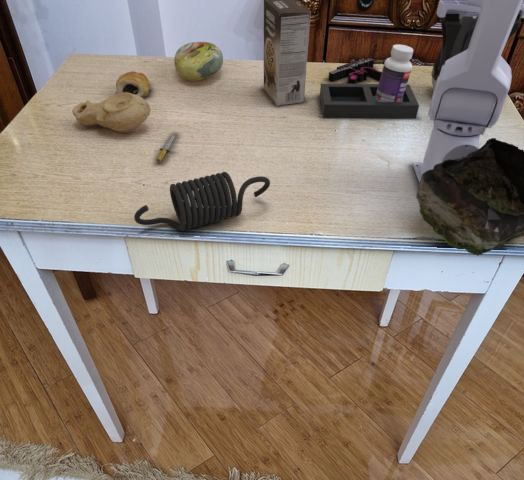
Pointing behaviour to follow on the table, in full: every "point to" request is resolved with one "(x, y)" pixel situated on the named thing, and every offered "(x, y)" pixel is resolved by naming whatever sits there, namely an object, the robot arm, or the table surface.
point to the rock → (476, 198)
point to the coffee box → (285, 50)
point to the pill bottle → (395, 75)
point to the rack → (364, 102)
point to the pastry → (133, 84)
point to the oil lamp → (114, 112)
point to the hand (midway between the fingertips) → (465, 64)
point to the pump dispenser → (456, 44)
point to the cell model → (198, 60)
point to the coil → (204, 201)
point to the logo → (355, 71)
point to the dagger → (165, 149)
